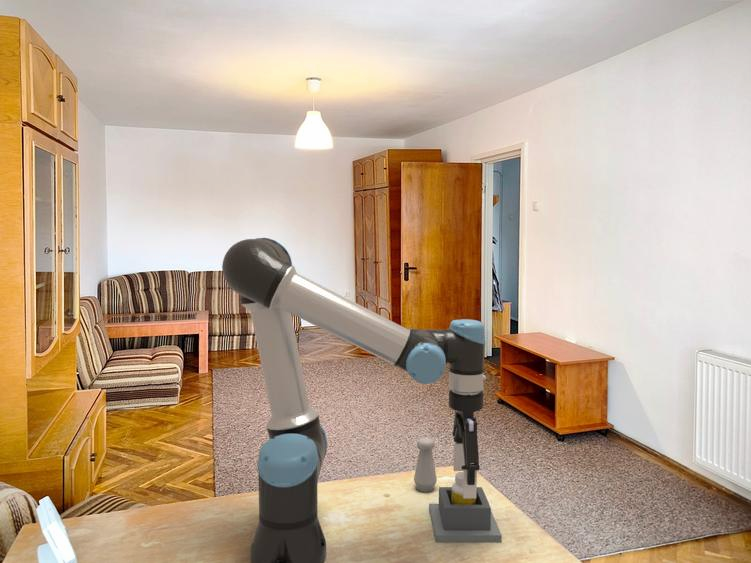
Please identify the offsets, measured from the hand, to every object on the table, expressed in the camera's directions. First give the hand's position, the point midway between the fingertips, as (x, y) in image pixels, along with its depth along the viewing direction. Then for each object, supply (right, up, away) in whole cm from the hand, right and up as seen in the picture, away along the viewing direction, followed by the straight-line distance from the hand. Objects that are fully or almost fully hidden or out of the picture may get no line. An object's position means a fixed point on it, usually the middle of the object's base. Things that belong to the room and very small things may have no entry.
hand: (464, 483), depth 126 cm
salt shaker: (-7, -8, +19) cm, 22 cm away
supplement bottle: (0, -8, +1) cm, 8 cm away
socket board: (0, -10, +1) cm, 10 cm away
